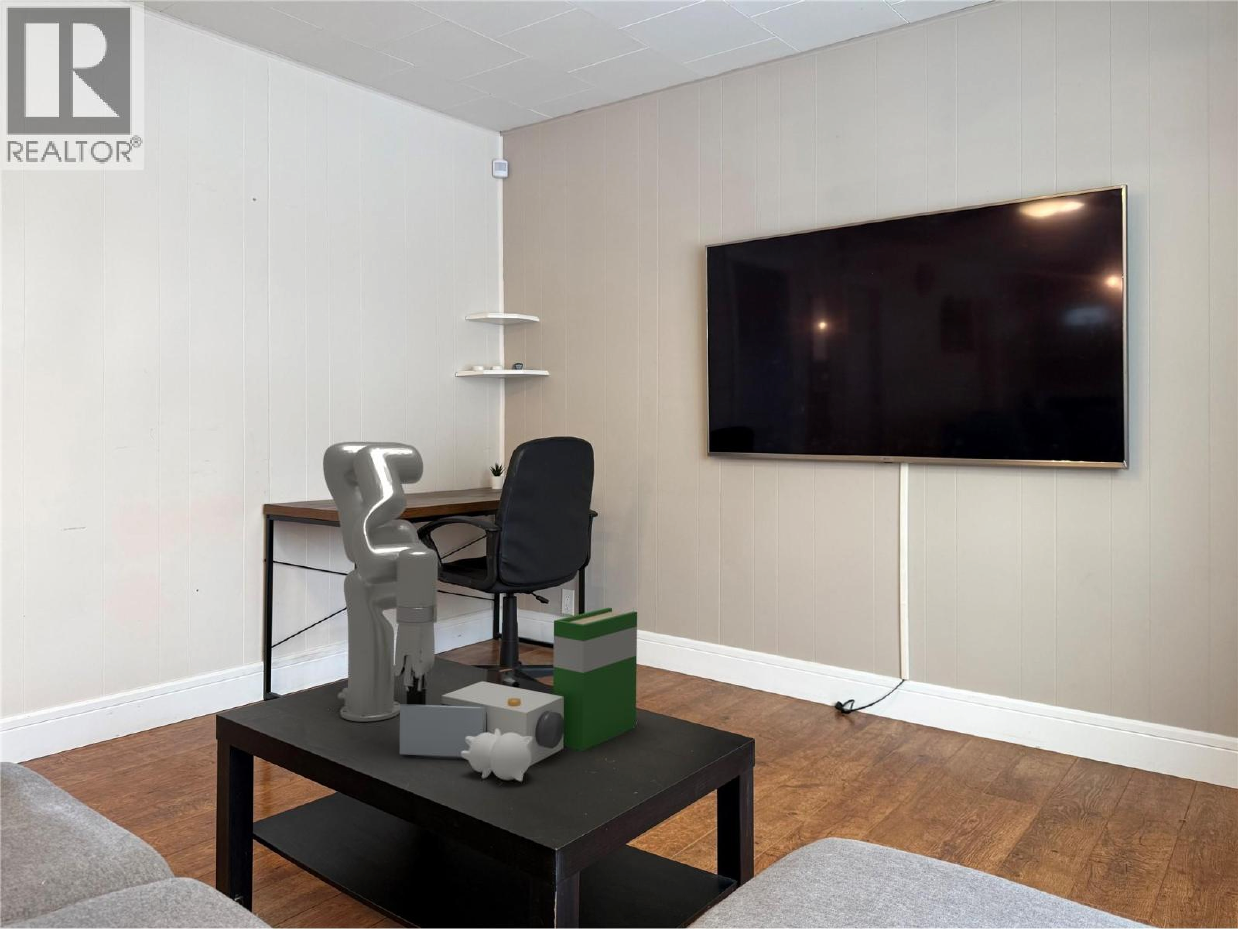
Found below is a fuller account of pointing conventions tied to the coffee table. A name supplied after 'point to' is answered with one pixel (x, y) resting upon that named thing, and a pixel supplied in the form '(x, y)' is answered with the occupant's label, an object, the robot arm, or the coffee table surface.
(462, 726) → the side door
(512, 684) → the electronic device
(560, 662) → the hardback book
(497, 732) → the cat figurine
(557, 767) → the coffee table surface
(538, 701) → the white rectangular box
